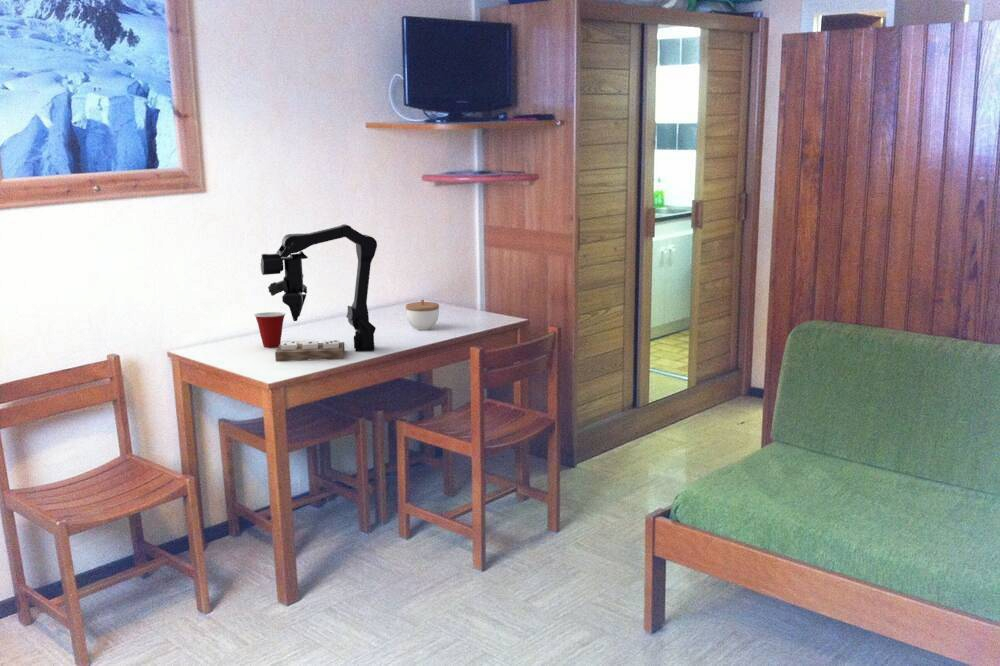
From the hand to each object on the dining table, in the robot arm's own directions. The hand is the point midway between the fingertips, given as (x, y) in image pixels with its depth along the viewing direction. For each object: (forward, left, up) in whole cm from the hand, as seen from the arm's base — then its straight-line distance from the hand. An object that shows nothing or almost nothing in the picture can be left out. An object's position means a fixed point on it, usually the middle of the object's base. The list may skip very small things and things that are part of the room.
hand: (296, 318), depth 319 cm
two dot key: (+3, 0, -10) cm, 11 cm away
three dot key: (-11, 0, -10) cm, 15 cm away
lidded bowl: (-43, -39, -13) cm, 59 cm away
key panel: (-4, 0, -13) cm, 14 cm away
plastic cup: (+11, -17, -13) cm, 24 cm away
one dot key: (-4, 0, -10) cm, 11 cm away
